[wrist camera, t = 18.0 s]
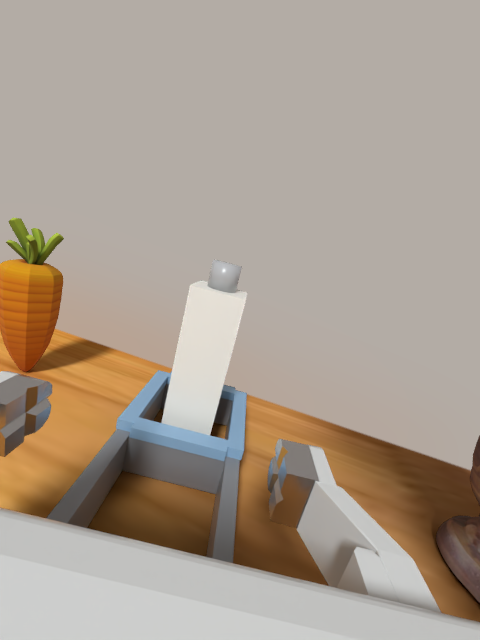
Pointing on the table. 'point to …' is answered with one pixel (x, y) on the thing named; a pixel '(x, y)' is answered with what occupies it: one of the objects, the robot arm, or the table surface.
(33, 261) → the carrot
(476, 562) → the mortar and pestle
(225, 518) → the ladder grid frame
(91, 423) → the table surface
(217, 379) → the capped white pillar
